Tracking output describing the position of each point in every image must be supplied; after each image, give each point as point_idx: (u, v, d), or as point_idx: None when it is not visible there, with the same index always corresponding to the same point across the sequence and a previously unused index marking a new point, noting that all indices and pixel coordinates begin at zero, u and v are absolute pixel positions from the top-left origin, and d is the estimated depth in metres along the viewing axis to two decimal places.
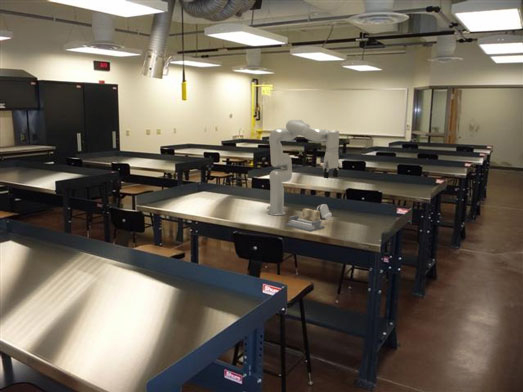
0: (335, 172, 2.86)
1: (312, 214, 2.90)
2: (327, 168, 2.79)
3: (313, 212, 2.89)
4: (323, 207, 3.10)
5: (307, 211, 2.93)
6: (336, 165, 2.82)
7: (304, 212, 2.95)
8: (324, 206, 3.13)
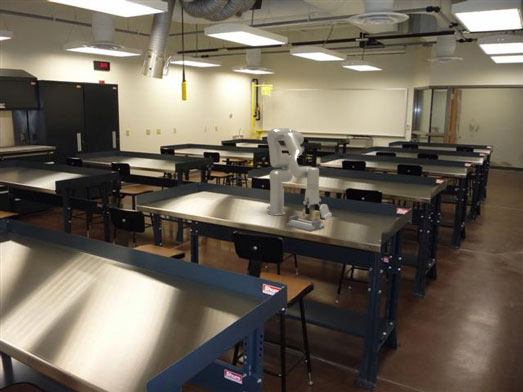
0: (316, 207, 2.95)
1: (312, 214, 2.90)
2: (308, 204, 2.88)
3: (313, 212, 2.89)
4: (323, 207, 3.10)
5: None
6: (317, 201, 2.91)
7: (304, 212, 2.95)
8: (324, 206, 3.13)
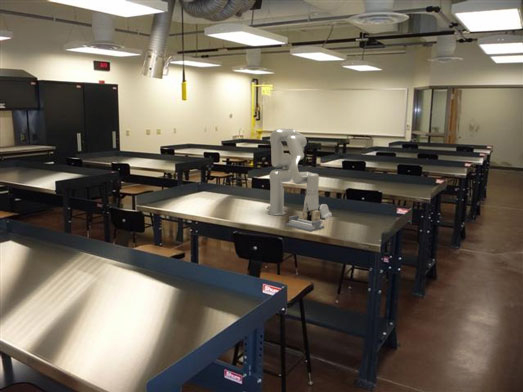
0: None
1: (312, 214, 2.90)
2: (309, 210, 2.91)
3: (313, 212, 2.89)
4: (323, 207, 3.10)
5: None
6: (316, 207, 2.92)
7: (304, 212, 2.95)
8: (324, 206, 3.13)
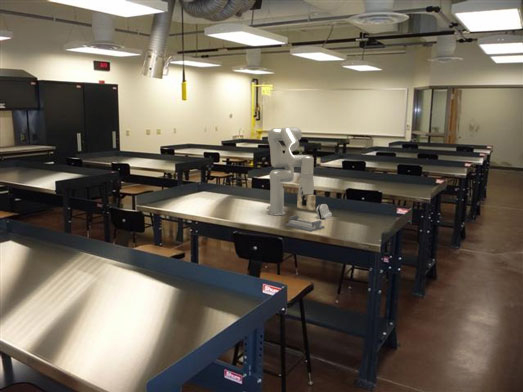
0: None
1: (307, 198, 2.78)
2: (304, 195, 2.79)
3: (308, 196, 2.78)
4: (323, 207, 3.11)
5: None
6: (311, 191, 2.81)
7: (299, 197, 2.83)
8: (324, 206, 3.13)
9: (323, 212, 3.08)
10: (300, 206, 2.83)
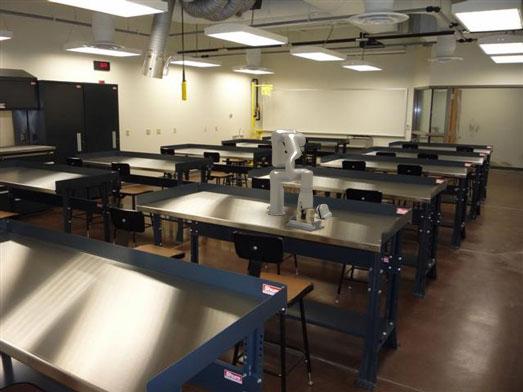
0: None
1: (307, 212, 2.80)
2: None
3: (307, 210, 2.80)
4: (323, 207, 3.11)
5: None
6: (310, 205, 2.82)
7: (298, 210, 2.85)
8: (324, 206, 3.13)
9: (323, 212, 3.08)
10: (299, 220, 2.85)
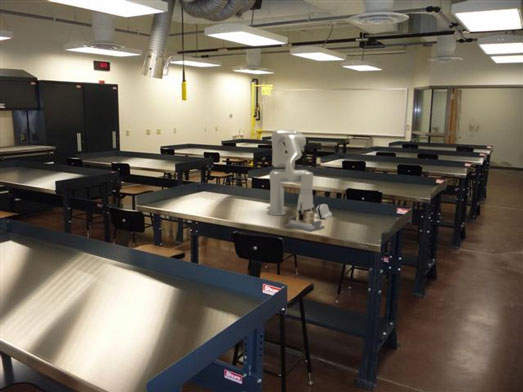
0: None
1: (306, 215, 2.81)
2: (302, 210, 2.80)
3: (307, 213, 2.80)
4: (323, 207, 3.11)
5: None
6: (310, 206, 2.83)
7: None
8: (324, 206, 3.13)
9: (323, 212, 3.08)
10: None
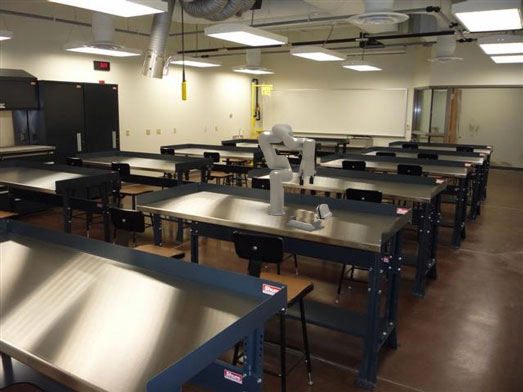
0: (311, 179, 2.94)
1: (306, 215, 2.81)
2: None
3: (307, 213, 2.80)
4: (323, 207, 3.11)
5: (301, 212, 2.83)
6: (312, 173, 2.90)
7: (298, 213, 2.85)
8: (324, 206, 3.13)
9: (323, 212, 3.09)
10: None
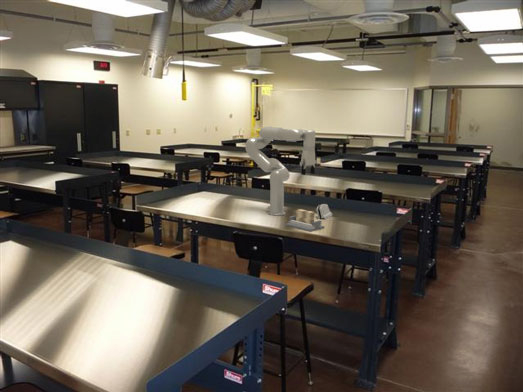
0: (312, 169, 3.06)
1: (306, 215, 2.81)
2: None
3: (307, 213, 2.80)
4: (323, 207, 3.11)
5: (301, 212, 2.83)
6: (313, 162, 3.02)
7: (298, 213, 2.85)
8: (324, 206, 3.13)
9: (323, 212, 3.09)
10: None
